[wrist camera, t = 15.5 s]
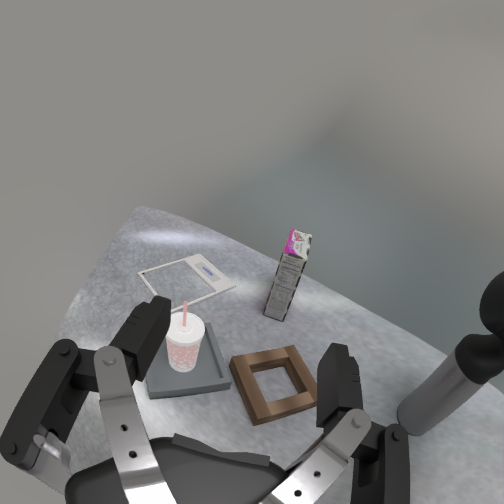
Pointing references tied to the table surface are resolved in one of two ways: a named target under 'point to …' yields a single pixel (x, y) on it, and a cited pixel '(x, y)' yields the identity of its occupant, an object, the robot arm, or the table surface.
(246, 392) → the socket block
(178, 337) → the beverage cup
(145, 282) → the photo frame
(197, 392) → the tray
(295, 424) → the table surface
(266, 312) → the candy bar box
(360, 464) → the robot arm
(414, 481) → the table surface
